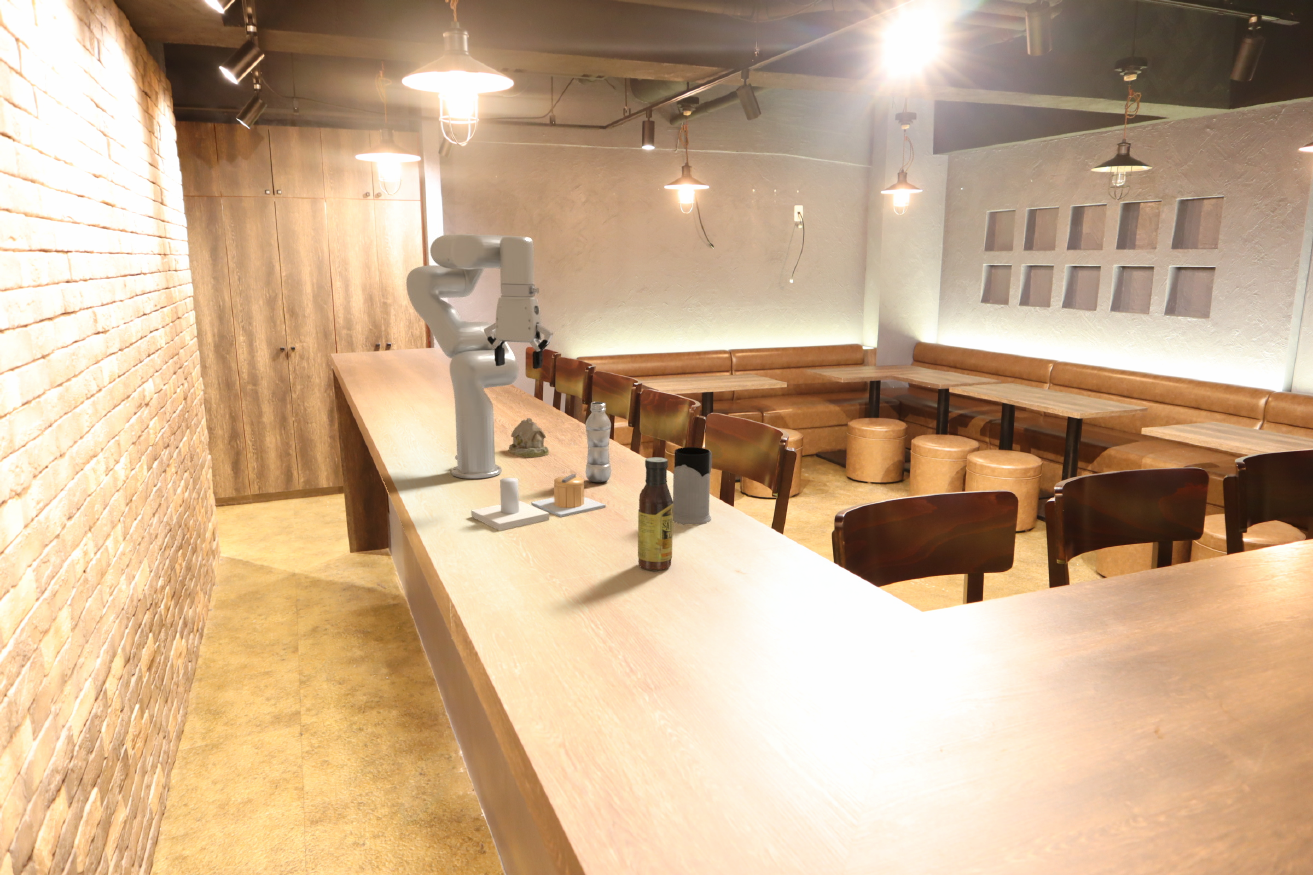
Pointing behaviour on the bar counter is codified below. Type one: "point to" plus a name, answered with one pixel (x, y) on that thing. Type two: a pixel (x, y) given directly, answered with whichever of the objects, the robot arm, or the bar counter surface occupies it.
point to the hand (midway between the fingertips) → (518, 366)
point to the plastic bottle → (598, 444)
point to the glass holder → (691, 485)
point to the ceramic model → (528, 440)
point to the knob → (569, 491)
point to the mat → (561, 512)
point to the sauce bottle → (655, 518)
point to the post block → (509, 509)
